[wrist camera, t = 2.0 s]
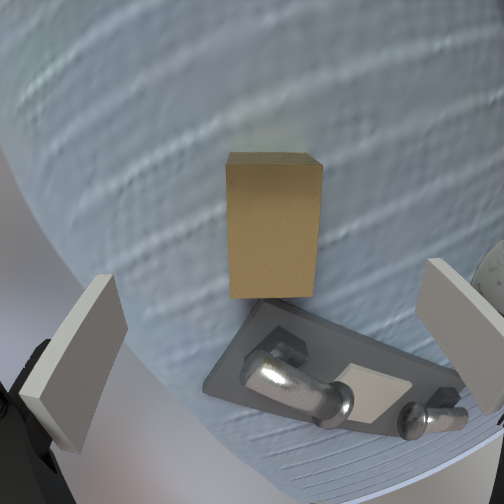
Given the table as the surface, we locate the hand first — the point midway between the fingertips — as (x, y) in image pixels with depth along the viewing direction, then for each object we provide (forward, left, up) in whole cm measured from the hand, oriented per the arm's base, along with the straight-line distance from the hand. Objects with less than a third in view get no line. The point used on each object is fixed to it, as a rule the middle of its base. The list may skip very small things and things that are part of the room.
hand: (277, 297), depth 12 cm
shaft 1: (+10, +8, -9) cm, 16 cm away
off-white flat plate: (+12, +18, -9) cm, 24 cm away
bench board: (+12, +18, -11) cm, 24 cm away
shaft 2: (+10, +28, -9) cm, 31 cm away
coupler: (0, 0, -11) cm, 11 cm away
